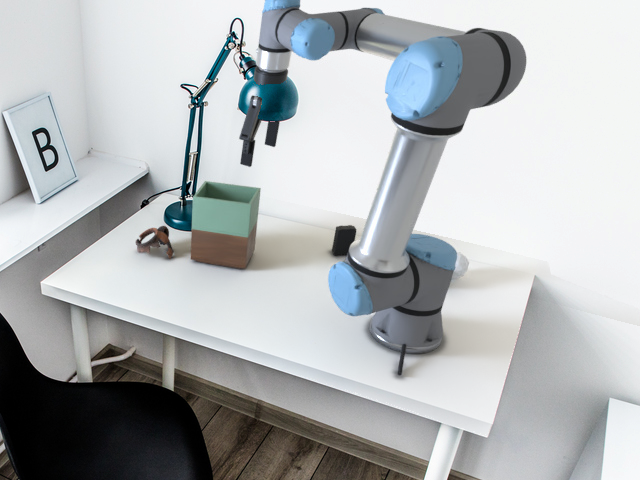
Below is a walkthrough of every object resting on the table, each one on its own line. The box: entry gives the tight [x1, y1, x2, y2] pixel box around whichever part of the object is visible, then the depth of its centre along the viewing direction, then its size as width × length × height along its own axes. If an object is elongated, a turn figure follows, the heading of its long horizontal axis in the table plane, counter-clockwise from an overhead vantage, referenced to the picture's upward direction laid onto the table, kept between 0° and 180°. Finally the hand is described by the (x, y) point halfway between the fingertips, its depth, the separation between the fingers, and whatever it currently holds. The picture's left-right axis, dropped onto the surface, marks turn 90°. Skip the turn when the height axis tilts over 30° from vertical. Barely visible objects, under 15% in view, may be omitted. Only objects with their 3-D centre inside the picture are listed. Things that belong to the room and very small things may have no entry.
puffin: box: [451, 251, 470, 280], centre depth 164 cm, size 7×7×12 cm
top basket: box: [191, 180, 262, 238], centre depth 170 cm, size 11×15×10 cm
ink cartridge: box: [331, 224, 357, 257], centre depth 176 cm, size 5×2×8 cm, turn 93°
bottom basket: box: [190, 221, 258, 270], centre depth 175 cm, size 11×15×10 cm
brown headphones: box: [135, 225, 174, 259], centre depth 180 cm, size 12×10×8 cm
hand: (258, 155), depth 162 cm, fingers open, 13 cm apart
